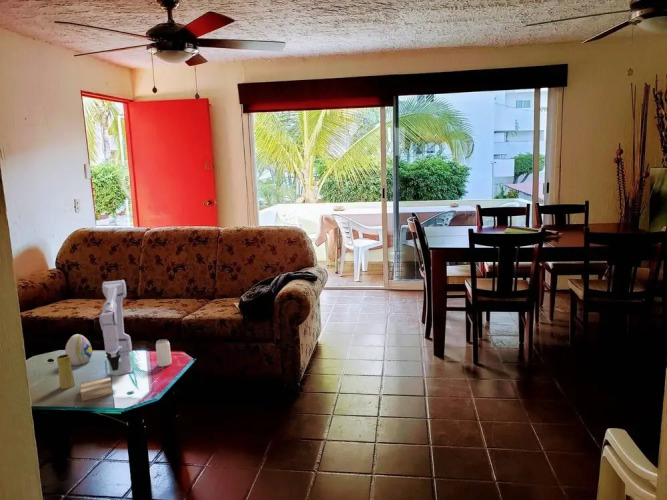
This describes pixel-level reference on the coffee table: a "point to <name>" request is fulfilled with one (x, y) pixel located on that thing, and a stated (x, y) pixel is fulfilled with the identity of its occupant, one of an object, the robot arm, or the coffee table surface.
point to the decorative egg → (78, 349)
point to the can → (163, 353)
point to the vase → (65, 371)
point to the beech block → (96, 388)
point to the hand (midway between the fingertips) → (115, 368)
